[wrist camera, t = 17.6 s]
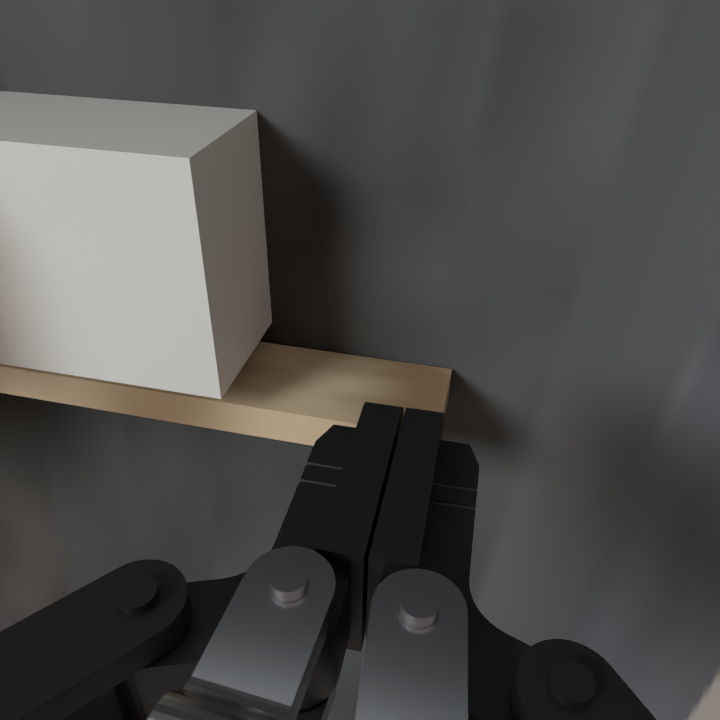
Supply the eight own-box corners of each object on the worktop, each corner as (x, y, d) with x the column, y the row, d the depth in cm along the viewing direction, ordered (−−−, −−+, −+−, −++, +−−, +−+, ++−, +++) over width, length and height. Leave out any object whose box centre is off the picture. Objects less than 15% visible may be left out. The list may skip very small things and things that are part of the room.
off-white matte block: (35, 286, 21) (-57, 354, 18) (-25, 86, 18) (-152, 126, 15) (274, 318, 20) (221, 399, 16) (260, 108, 16) (189, 158, 13)
